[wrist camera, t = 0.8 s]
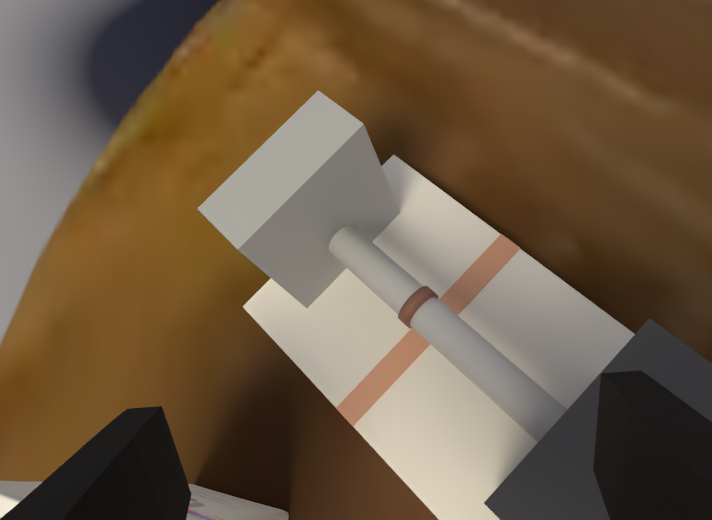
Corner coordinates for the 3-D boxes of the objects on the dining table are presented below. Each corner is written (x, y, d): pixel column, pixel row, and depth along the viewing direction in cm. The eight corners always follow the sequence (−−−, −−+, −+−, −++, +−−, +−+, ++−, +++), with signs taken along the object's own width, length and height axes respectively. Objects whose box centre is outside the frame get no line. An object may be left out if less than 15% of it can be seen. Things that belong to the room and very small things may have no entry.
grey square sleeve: (707, 455, 19) (816, 438, 12) (589, 593, 18) (634, 656, 12) (604, 372, 21) (649, 317, 14) (493, 496, 20) (483, 503, 13)
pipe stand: (814, 479, 19) (998, 477, 12) (621, 711, 18) (693, 861, 11) (397, 165, 28) (356, 52, 20) (251, 312, 27) (155, 249, 19)
